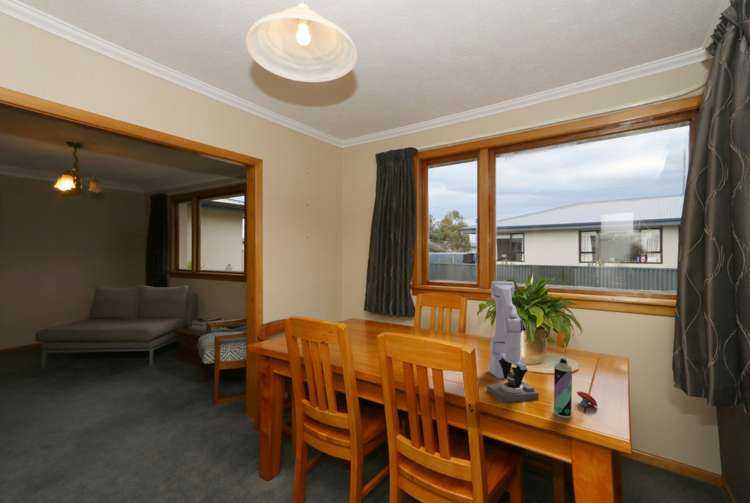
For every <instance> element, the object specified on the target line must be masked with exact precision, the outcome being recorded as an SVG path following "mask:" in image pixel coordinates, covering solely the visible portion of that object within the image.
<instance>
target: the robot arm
mask: <svg viewBox="0 0 750 503" xmlns="http://www.w3.org/2000/svg"><path fill="white" fill-rule="evenodd" d="M515 288H516V287H515V283H514V281H500V280H499V281H496V280H495V281H494V280H492V281H491V283H490V297H491V299H493V300H494V302H495V319H496V320H495V321H496V322H495V323H496V324H495V325H496V328H495V329H496V333H495V335H493V336H492V337H491V338H490V343H489V344H490V345H489V346H490V347H489V350H490V351H489V352H490V357H489V369H488V370H487V372H489V374H491V375H492V376H494V377H496V378H497V379H507V376H508V372H511V370H512V372H513V373H514V378H515V385H516V386H518V385H521V383H522V380H523V381H524V377H525V375H526V373H527V371H528V368H527V364H526V363H525V362H524V361H523V358H522V357H521V337H522V336H521V334H522V333H523V330H524V327H523V325H524V324H523V321H522V318H521V317H520V316H519V314H518V310H517V307H516V305H514V304H513V299H512V298H513V296H514V295H515V291H516V289H515ZM512 365H514V366H515V367H512Z"/></svg>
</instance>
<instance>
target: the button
mask: <svg viewBox="0 0 750 503" xmlns="http://www.w3.org/2000/svg"><path fill="white" fill-rule="evenodd" d="M576 394H577V395H578V397H580V398H581V399H582V400H580V405H581V407H585V408H587V407H588V404H590V405H592V406H595V407H597V408H598V407H599V406H598V402H597V401H596V400H595V398H594V397H593V396H591V395H590V394H588V393H587V392H584V391H576Z"/></svg>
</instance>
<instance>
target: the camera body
mask: <svg viewBox="0 0 750 503" xmlns="http://www.w3.org/2000/svg"><path fill="white" fill-rule="evenodd" d="M486 390H487V393H489V394H490V395H492V396H493V397H494V398H496V399H497V400H498V401H500V402H501V403H510V402H521V401H522V402H523V401H530V400H531V401H533V400H539V398H540V397H539V395H540V392H538V391H537V390H535V387H533V385H531V384H528V383H527V382H525V381H524V379H523V380H522V383H521V385H519V388H511V387H507V381H503V382H502V383H493V384H492V383H491V384H487V385H486Z"/></svg>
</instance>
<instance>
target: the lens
mask: <svg viewBox="0 0 750 503" xmlns="http://www.w3.org/2000/svg"><path fill="white" fill-rule="evenodd" d="M506 380H507V387H511V388H519V385H518V386H516V385H515V378H514V373H513V371H510V372H508V376H507V378H506Z"/></svg>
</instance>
